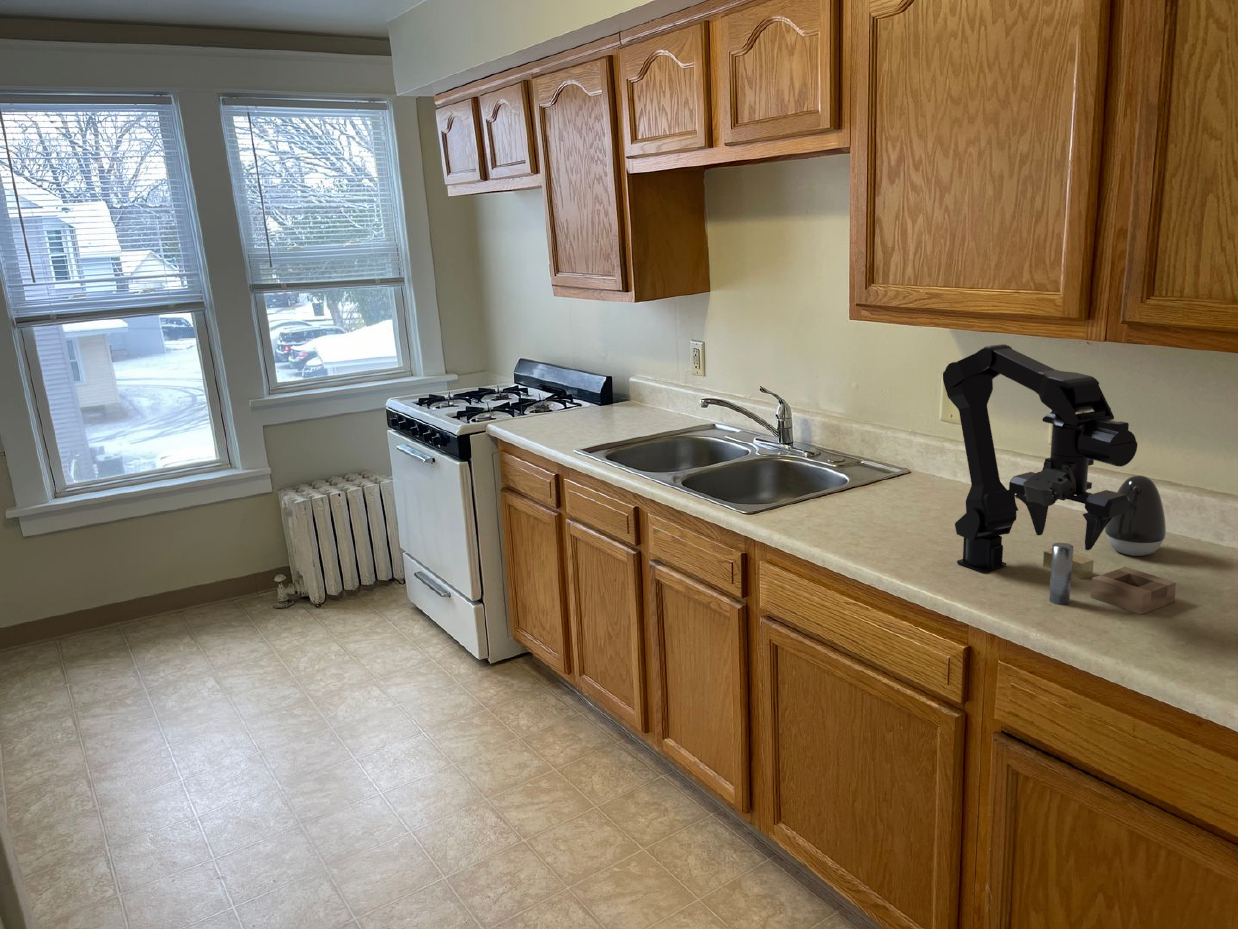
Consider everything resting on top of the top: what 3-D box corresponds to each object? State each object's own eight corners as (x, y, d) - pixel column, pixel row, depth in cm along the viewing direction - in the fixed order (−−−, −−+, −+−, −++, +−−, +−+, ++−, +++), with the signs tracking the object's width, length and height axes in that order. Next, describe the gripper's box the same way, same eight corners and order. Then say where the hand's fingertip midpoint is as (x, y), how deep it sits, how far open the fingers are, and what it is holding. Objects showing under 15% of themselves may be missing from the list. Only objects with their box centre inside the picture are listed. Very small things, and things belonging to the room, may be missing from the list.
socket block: (1090, 597, 158) (1092, 578, 157) (1123, 585, 162) (1125, 566, 161) (1141, 614, 150) (1142, 594, 149) (1174, 601, 154) (1176, 582, 153)
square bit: (1042, 567, 173) (1043, 551, 172) (1054, 563, 174) (1055, 547, 173) (1080, 580, 166) (1081, 563, 165) (1092, 576, 167) (1093, 560, 166)
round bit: (1044, 600, 158) (1048, 545, 155) (1057, 595, 159) (1060, 541, 157) (1061, 606, 155) (1065, 550, 153) (1073, 601, 156) (1077, 546, 154)
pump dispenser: (1099, 556, 176) (1106, 480, 172) (1106, 539, 184) (1112, 466, 180) (1161, 564, 170) (1169, 485, 166) (1165, 547, 178) (1173, 471, 175)
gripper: (989, 450, 155) (984, 537, 159) (1090, 473, 139) (1082, 569, 143) (1033, 439, 160) (1028, 524, 164) (1136, 460, 144) (1127, 554, 148)
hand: (1063, 542), depth 155 cm, fingers open, 9 cm apart
